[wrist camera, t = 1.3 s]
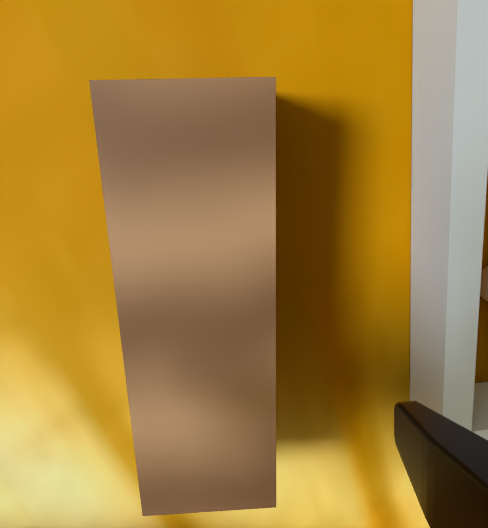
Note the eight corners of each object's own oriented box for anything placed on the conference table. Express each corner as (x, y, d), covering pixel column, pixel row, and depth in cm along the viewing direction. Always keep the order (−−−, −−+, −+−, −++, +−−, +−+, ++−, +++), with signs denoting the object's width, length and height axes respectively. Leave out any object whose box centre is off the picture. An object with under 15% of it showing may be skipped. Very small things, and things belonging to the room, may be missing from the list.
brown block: (264, 427, 20) (276, 507, 16) (159, 434, 20) (142, 515, 16) (260, 90, 16) (275, 76, 12) (124, 93, 16) (89, 80, 11)
